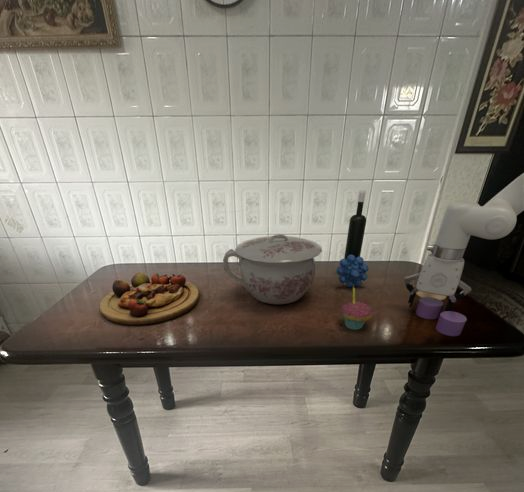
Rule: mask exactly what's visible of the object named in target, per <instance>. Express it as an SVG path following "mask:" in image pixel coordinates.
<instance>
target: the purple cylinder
mask: <svg viewBox="0 0 524 492" xmlns="http://www.w3.org/2000/svg"><path fill="white" fill-rule="evenodd" d="M443 306H444V302H443V300H442V301H441V300H439V299H437V298H433V297H422V298H421V297H419V301H418V303H417V306H416V310H415V314H416V316H417V317H420V318H422V319H426V320H436V319H437V320H438V319H439V316H440V314H441V312H442V308H443Z"/></svg>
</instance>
